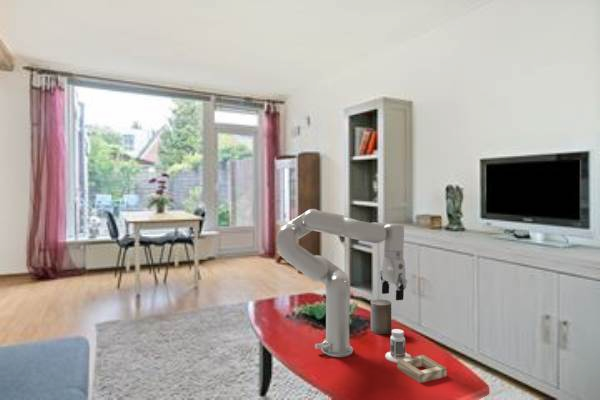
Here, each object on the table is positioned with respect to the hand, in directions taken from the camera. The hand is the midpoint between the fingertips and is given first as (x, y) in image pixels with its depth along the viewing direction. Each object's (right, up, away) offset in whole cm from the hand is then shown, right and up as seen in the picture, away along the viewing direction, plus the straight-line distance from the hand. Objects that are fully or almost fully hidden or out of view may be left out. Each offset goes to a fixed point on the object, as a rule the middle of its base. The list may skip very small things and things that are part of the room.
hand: (392, 296), depth 154 cm
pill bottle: (+1, -23, -4) cm, 23 cm away
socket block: (+7, -24, -16) cm, 29 cm away
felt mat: (+2, -23, -4) cm, 24 cm away
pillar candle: (+1, -23, +25) cm, 34 cm away
